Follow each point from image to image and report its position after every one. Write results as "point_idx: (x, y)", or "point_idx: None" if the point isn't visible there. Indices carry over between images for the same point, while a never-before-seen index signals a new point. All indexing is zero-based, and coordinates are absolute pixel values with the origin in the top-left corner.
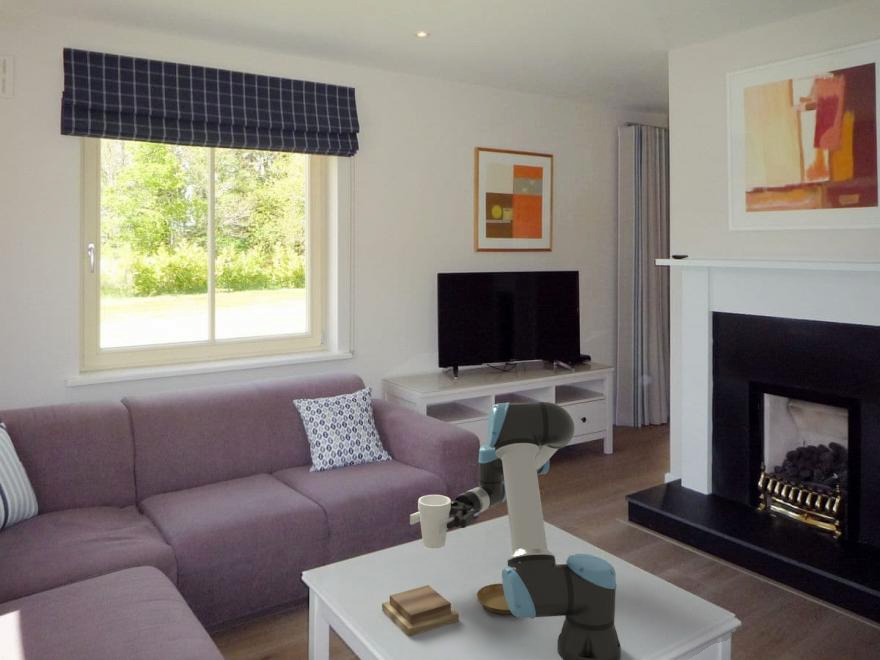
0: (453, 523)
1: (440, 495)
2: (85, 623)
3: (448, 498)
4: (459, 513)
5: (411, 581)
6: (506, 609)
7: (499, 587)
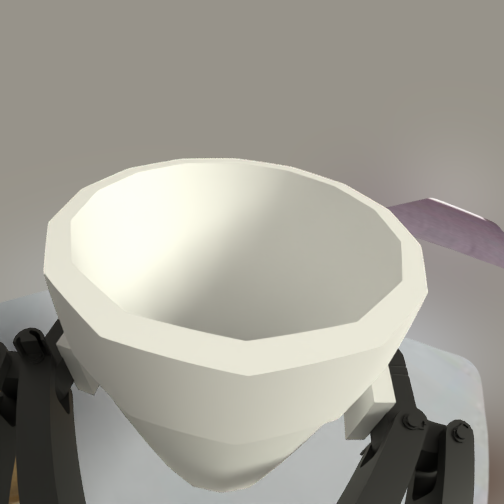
0: (59, 323)
1: (290, 359)
2: (451, 219)
3: (81, 294)
4: (28, 458)
5: (295, 478)
6: None
7: (11, 502)
